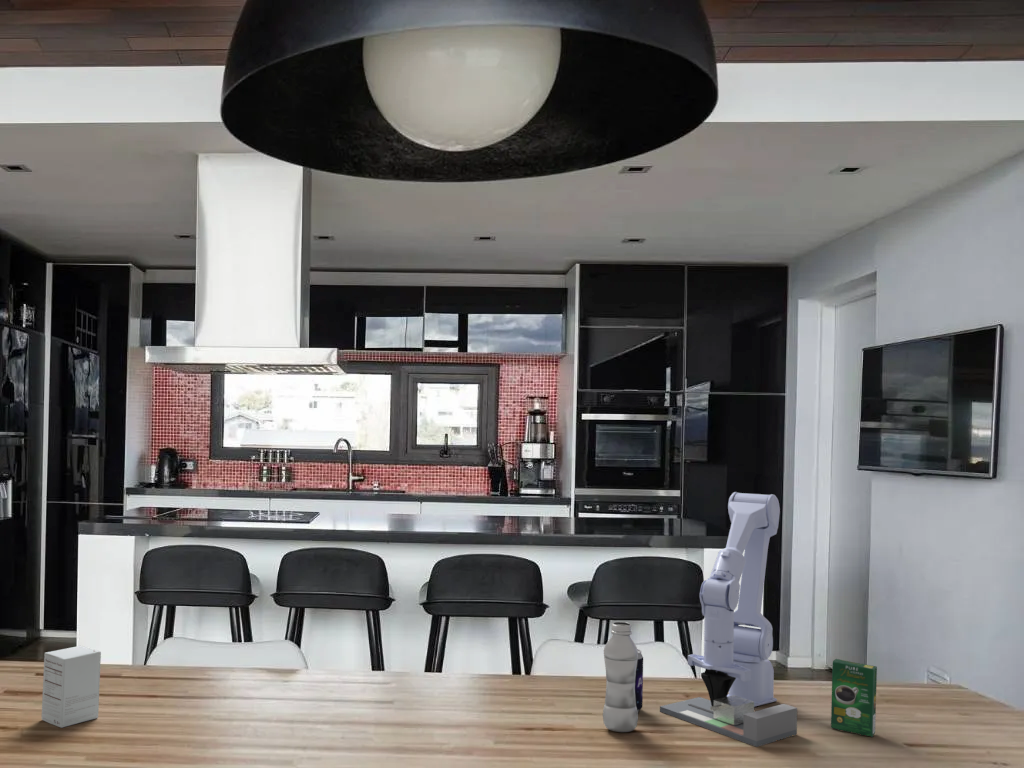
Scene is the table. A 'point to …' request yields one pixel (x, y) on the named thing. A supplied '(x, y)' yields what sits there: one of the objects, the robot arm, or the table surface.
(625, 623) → the plastic bottle
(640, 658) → the beverage can
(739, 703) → the slider block with tab
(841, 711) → the coffee box
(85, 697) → the supplement box
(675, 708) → the gauge board
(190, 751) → the table surface
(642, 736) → the table surface
